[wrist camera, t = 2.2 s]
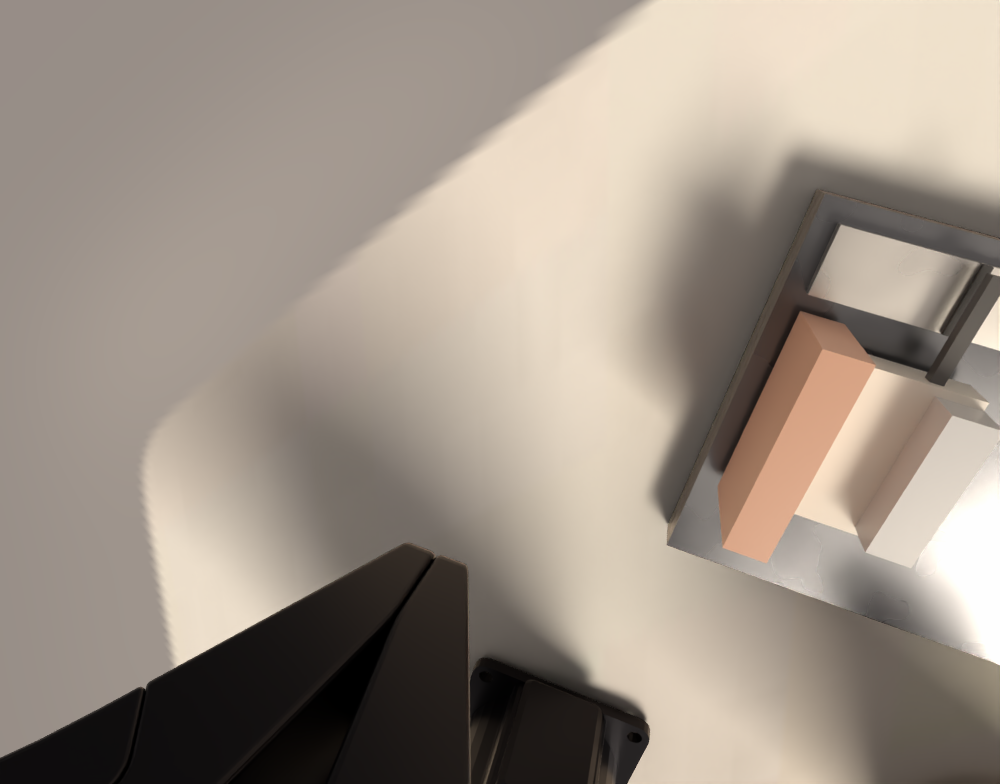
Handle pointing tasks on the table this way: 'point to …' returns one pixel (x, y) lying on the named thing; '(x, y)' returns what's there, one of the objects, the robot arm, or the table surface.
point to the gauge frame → (898, 338)
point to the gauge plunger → (858, 442)
